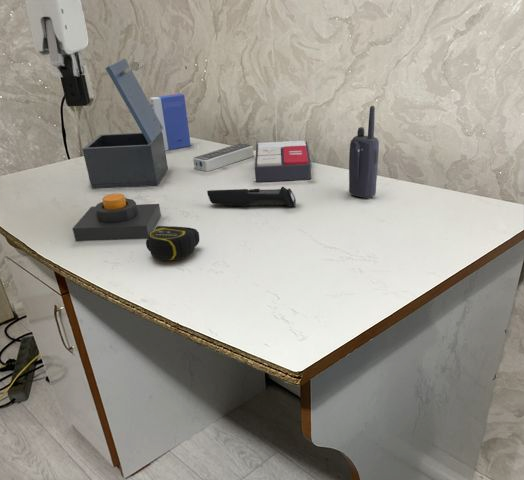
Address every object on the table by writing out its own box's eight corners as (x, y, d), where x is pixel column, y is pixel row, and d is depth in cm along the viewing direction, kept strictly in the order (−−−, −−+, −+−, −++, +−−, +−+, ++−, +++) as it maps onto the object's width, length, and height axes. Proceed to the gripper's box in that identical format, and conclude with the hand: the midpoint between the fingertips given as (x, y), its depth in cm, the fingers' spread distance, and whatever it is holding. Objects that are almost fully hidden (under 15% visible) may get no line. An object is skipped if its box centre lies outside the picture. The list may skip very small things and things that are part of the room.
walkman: (187, 143, 135) (180, 91, 128) (190, 146, 133) (184, 93, 126) (157, 149, 132) (148, 96, 125) (160, 151, 130) (151, 97, 123)
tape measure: (203, 247, 81) (200, 224, 79) (185, 267, 76) (181, 242, 74) (162, 244, 83) (158, 221, 81) (141, 263, 78) (137, 239, 75)
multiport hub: (254, 155, 122) (253, 145, 121) (206, 171, 114) (205, 160, 112) (241, 153, 125) (240, 142, 123) (193, 168, 116) (192, 157, 115)
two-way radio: (379, 196, 95) (386, 105, 87) (363, 202, 93) (367, 110, 85) (356, 189, 99) (360, 101, 90) (339, 195, 97) (342, 106, 88)
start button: (101, 211, 86) (99, 201, 85) (107, 204, 89) (105, 193, 88) (123, 210, 86) (121, 200, 85) (129, 203, 89) (127, 192, 88)
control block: (75, 241, 86) (69, 217, 84) (94, 218, 94) (88, 196, 92) (148, 238, 85) (144, 214, 83) (161, 215, 93) (157, 193, 91)
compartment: (91, 188, 109) (82, 148, 104) (107, 171, 118) (99, 134, 114) (157, 185, 108) (150, 145, 103) (168, 168, 117) (162, 131, 113)
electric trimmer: (211, 203, 98) (209, 186, 96) (296, 201, 96) (295, 183, 94) (207, 210, 95) (204, 193, 93) (294, 208, 93) (294, 190, 91)
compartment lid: (105, 68, 96) (128, 54, 95) (121, 60, 106) (143, 47, 104) (148, 143, 103) (170, 132, 102) (160, 129, 113) (180, 119, 111)
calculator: (254, 163, 104) (256, 140, 115) (255, 185, 106) (257, 160, 118) (311, 160, 103) (307, 137, 115) (311, 182, 106) (307, 157, 118)
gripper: (40, -41, 78) (71, 97, 88) (-7, -44, 66) (36, 116, 76) (90, -44, 77) (116, 95, 88) (52, -48, 65) (87, 114, 76)
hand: (78, 104), depth 82 cm, fingers closed
